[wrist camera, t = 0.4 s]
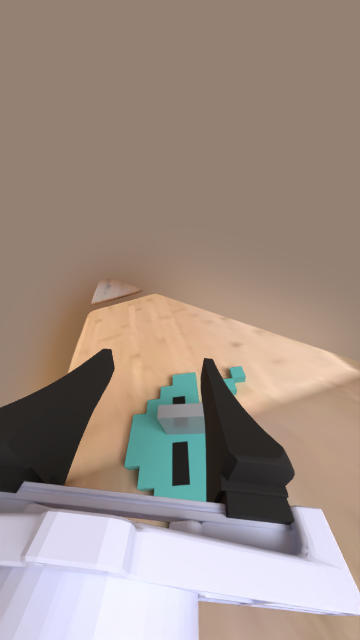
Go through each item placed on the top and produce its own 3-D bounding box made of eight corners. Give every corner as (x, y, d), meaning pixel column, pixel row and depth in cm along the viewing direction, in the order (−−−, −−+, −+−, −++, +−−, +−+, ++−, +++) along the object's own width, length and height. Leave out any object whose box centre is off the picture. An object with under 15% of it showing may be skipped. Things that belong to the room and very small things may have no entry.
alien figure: (240, 373, 33) (143, 385, 34) (241, 366, 32) (139, 379, 33) (303, 541, 17) (117, 549, 19) (310, 541, 16) (109, 550, 17)
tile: (221, 433, 24) (221, 415, 20) (167, 434, 25) (157, 418, 21) (220, 420, 25) (219, 402, 21) (168, 422, 26) (158, 405, 22)
